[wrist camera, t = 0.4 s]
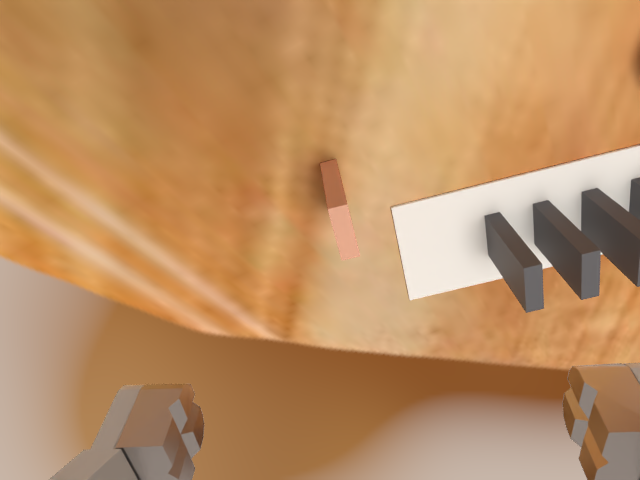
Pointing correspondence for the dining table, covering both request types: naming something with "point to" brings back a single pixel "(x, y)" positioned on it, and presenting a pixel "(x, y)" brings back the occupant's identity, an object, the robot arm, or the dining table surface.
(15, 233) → the dining table surface
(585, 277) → the domino
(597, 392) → the robot arm
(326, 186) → the terracotta domino
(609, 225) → the domino
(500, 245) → the domino
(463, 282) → the mat
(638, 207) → the domino
